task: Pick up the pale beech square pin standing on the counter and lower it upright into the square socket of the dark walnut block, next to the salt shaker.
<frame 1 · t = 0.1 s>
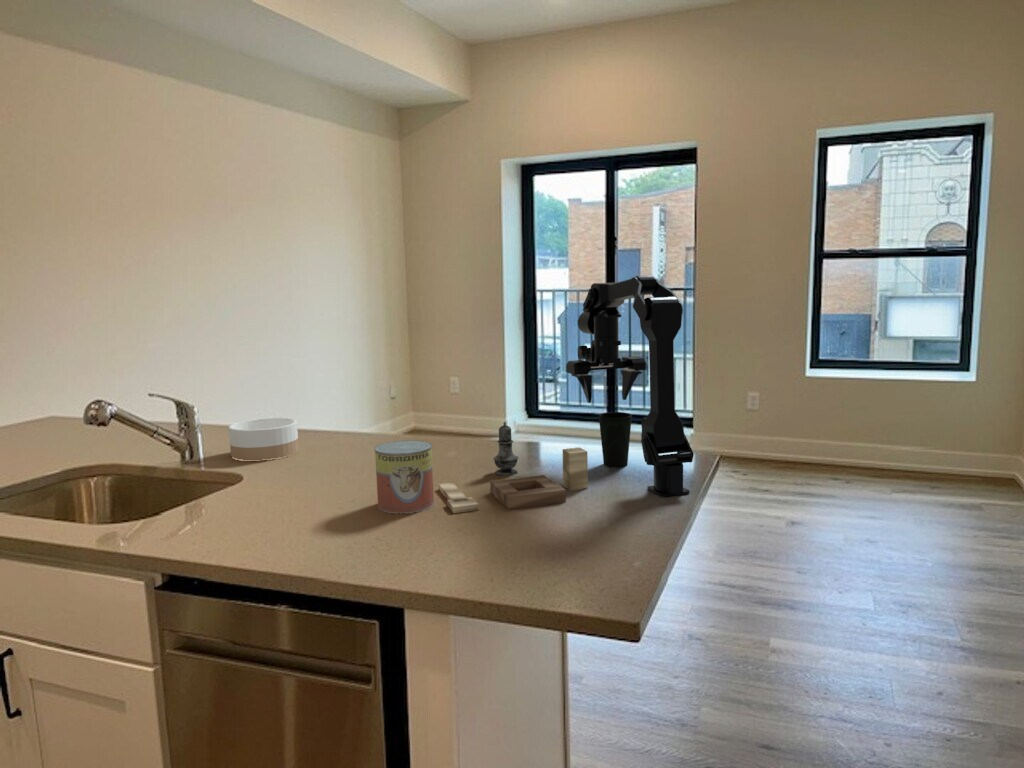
hand: (606, 401, 173), 15 cm above the worktop, tool pointing down, fingers open, 9 cm apart
canned food: (406, 506, 145), on the worktop
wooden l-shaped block: (453, 497, 149), on the worktop
wooden pin: (575, 486, 154), on the worktop
salt shaker: (506, 473, 167), on the worktop
cup: (615, 465, 172), on the worktop
bowl: (265, 455, 193), on the worktop
socket block: (527, 497, 148), on the worktop
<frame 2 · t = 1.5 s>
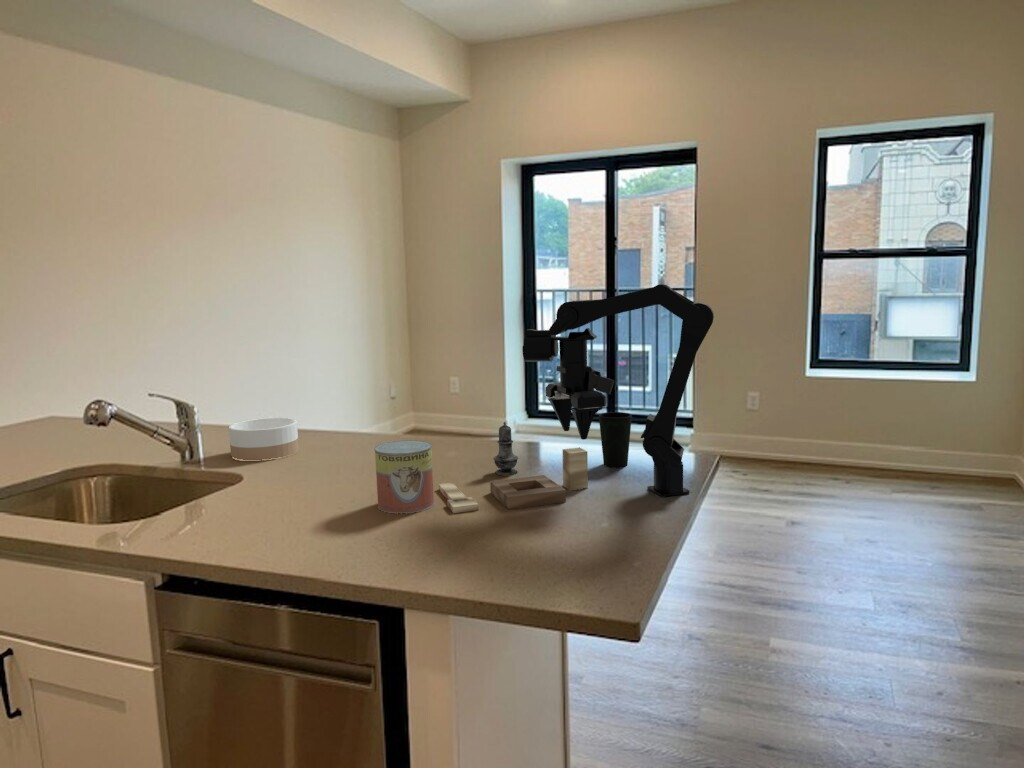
hand: (575, 435, 153), 11 cm above the worktop, tool pointing down, fingers open, 9 cm apart
nothing on the worktop moved.
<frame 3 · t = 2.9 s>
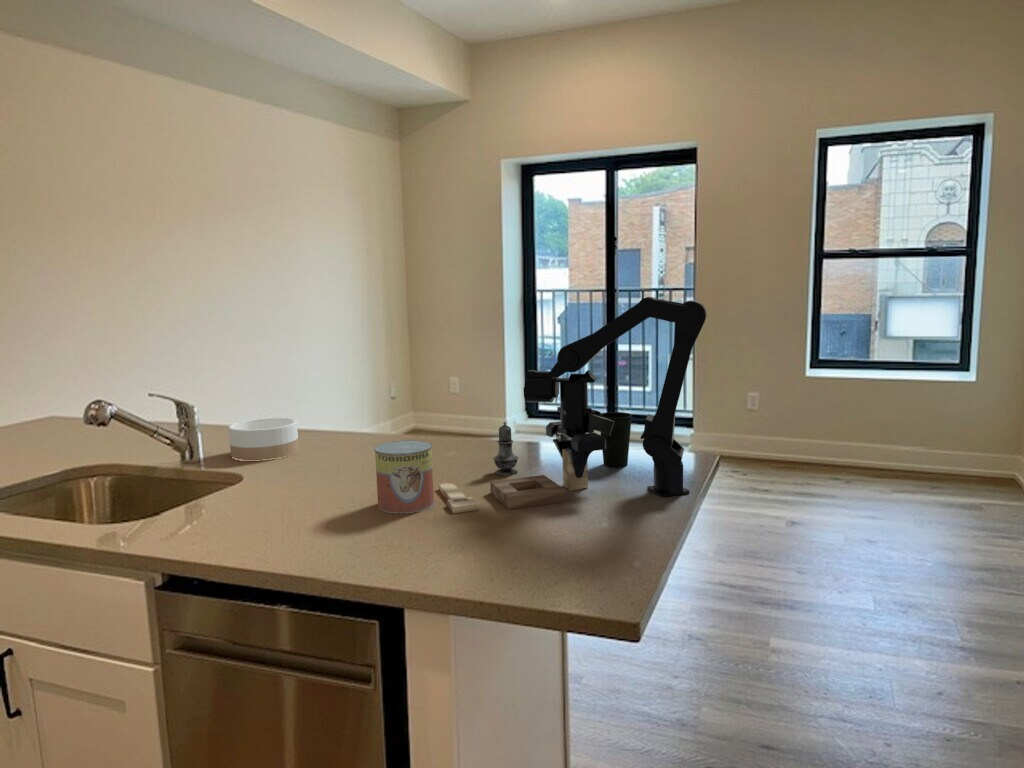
hand: (575, 475, 154), 3 cm above the worktop, tool pointing down, fingers closed on wooden pin, 4 cm apart
wooden pin: (575, 486, 154), on the worktop, touching gripper
everything else where it was.
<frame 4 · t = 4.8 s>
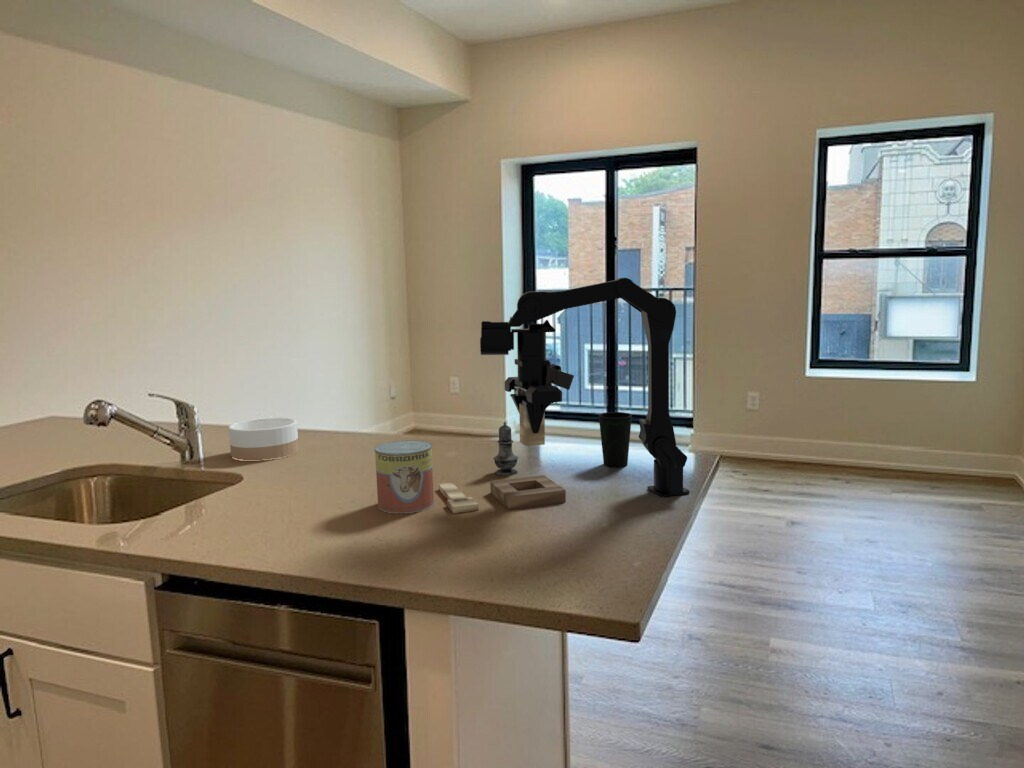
hand: (532, 431, 147), 13 cm above the worktop, tool pointing down, fingers closed on wooden pin, 4 cm apart
wooden pin: (532, 443, 148), point 11 cm above the worktop, touching gripper
everything else where it was.
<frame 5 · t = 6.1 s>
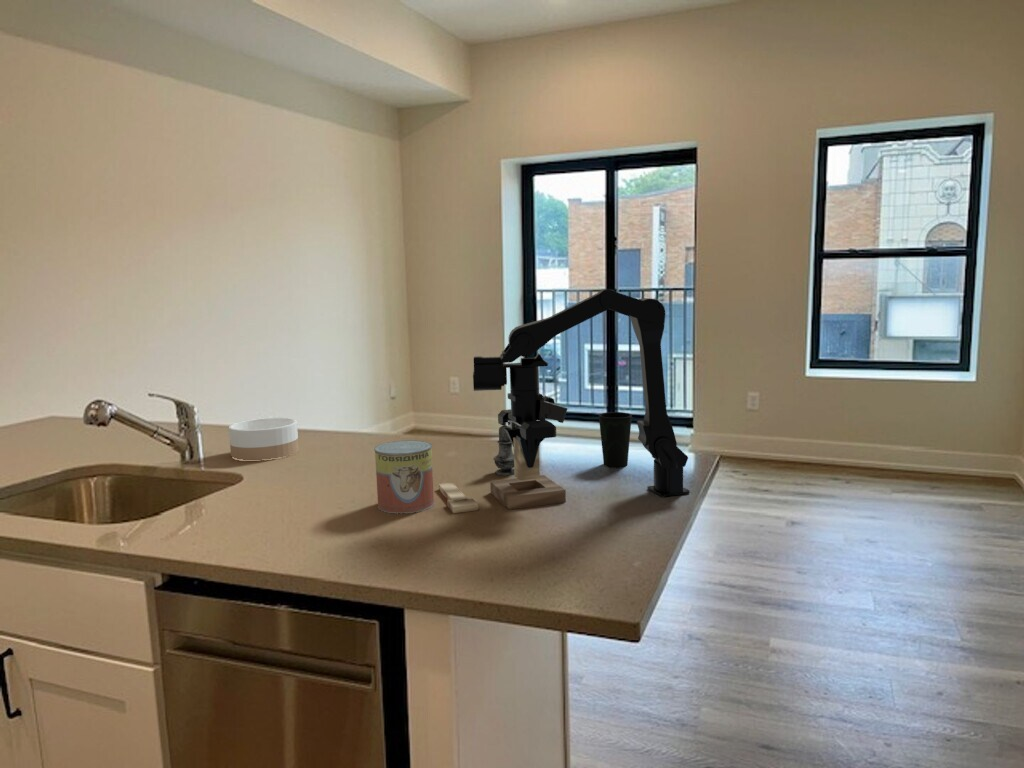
hand: (526, 464, 147), 7 cm above the worktop, tool pointing down, fingers closed on wooden pin, 4 cm apart
wooden pin: (527, 476, 147), point 4 cm above the worktop, touching gripper
everything else where it was.
when the fingers open (4 cm above the worktop, at t = 6.9 s): wooden pin drops 2 cm, resting in socket block.
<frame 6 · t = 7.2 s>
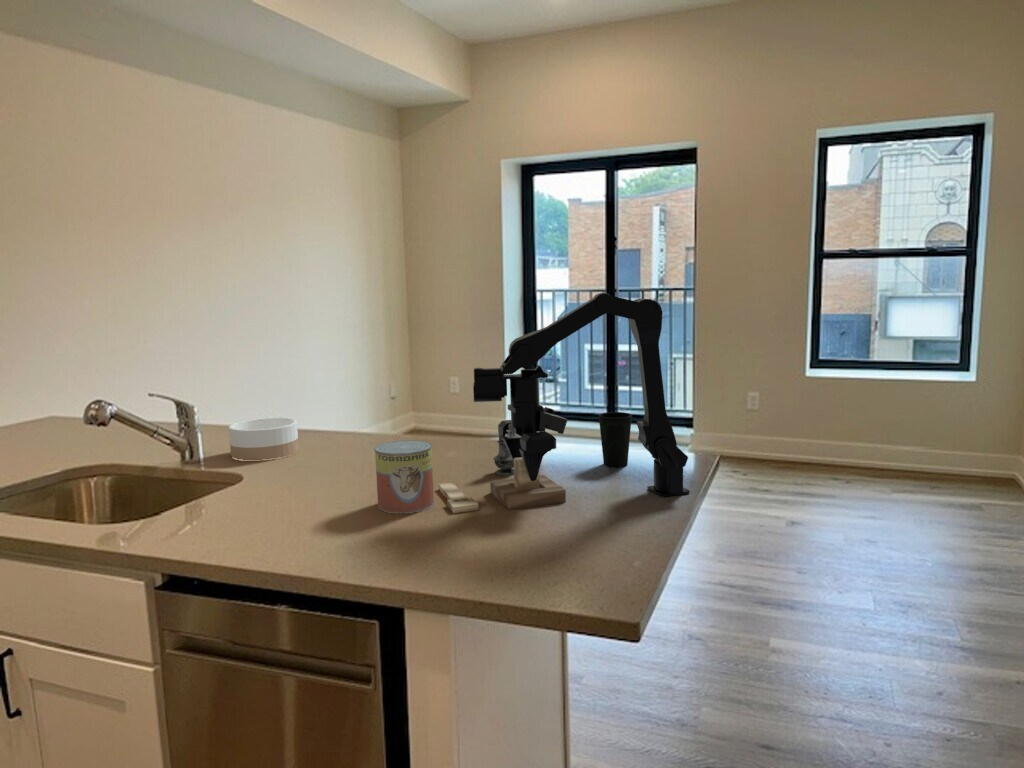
hand: (526, 475, 147), 4 cm above the worktop, tool pointing down, fingers open, 7 cm apart
wooden pin: (527, 497, 148), resting in socket block
everything else where it was.
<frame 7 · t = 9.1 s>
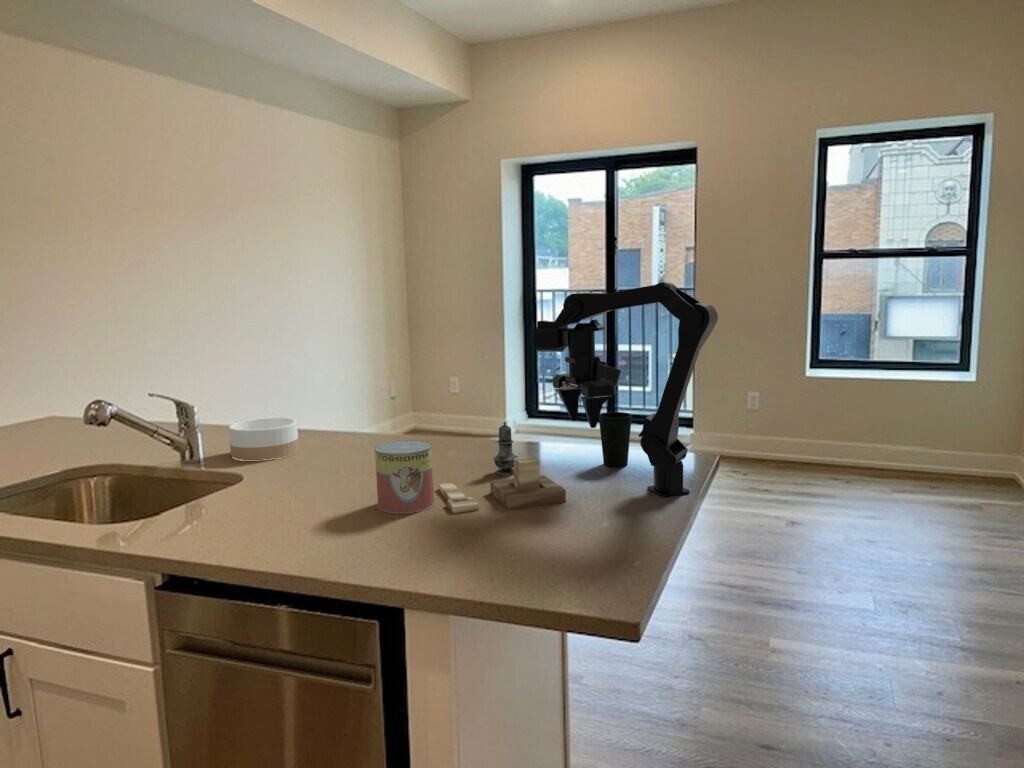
hand: (583, 424, 156), 13 cm above the worktop, tool pointing down, fingers open, 9 cm apart
nothing on the worktop moved.
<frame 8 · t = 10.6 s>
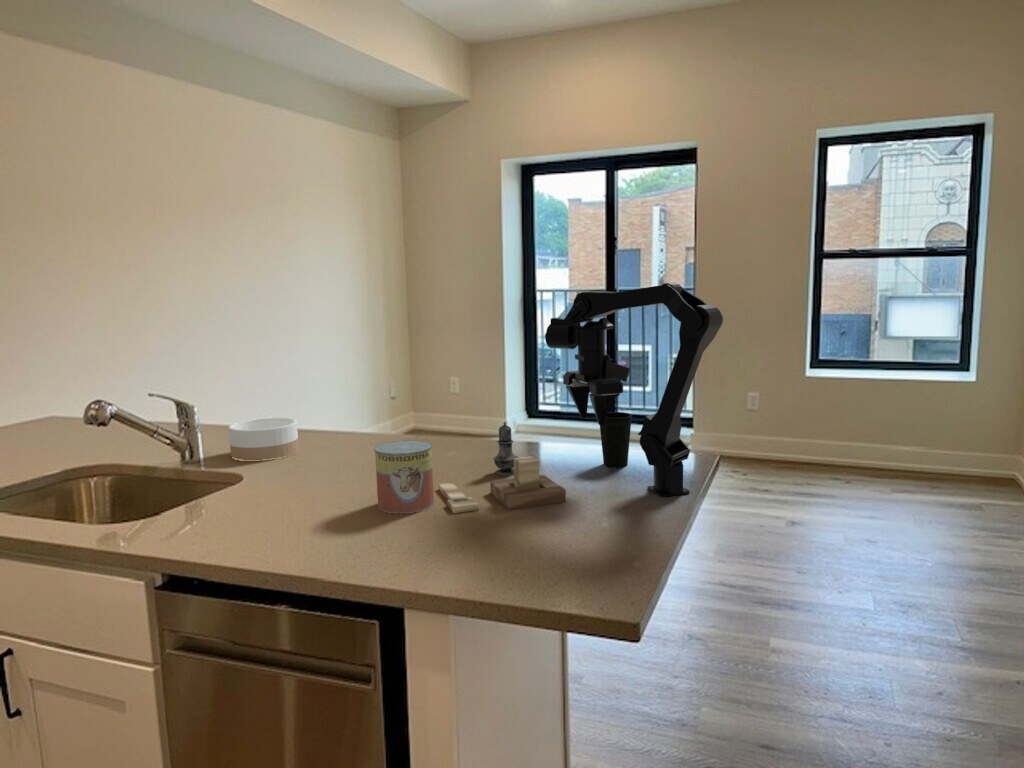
hand: (592, 421, 158), 13 cm above the worktop, tool pointing down, fingers open, 9 cm apart
nothing on the worktop moved.
at the end: wooden pin 0.0 cm off-centre on the socket block, point 0.0 cm above the socket block's base; wooden pin tilted 0°; the gripper is holding nothing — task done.
